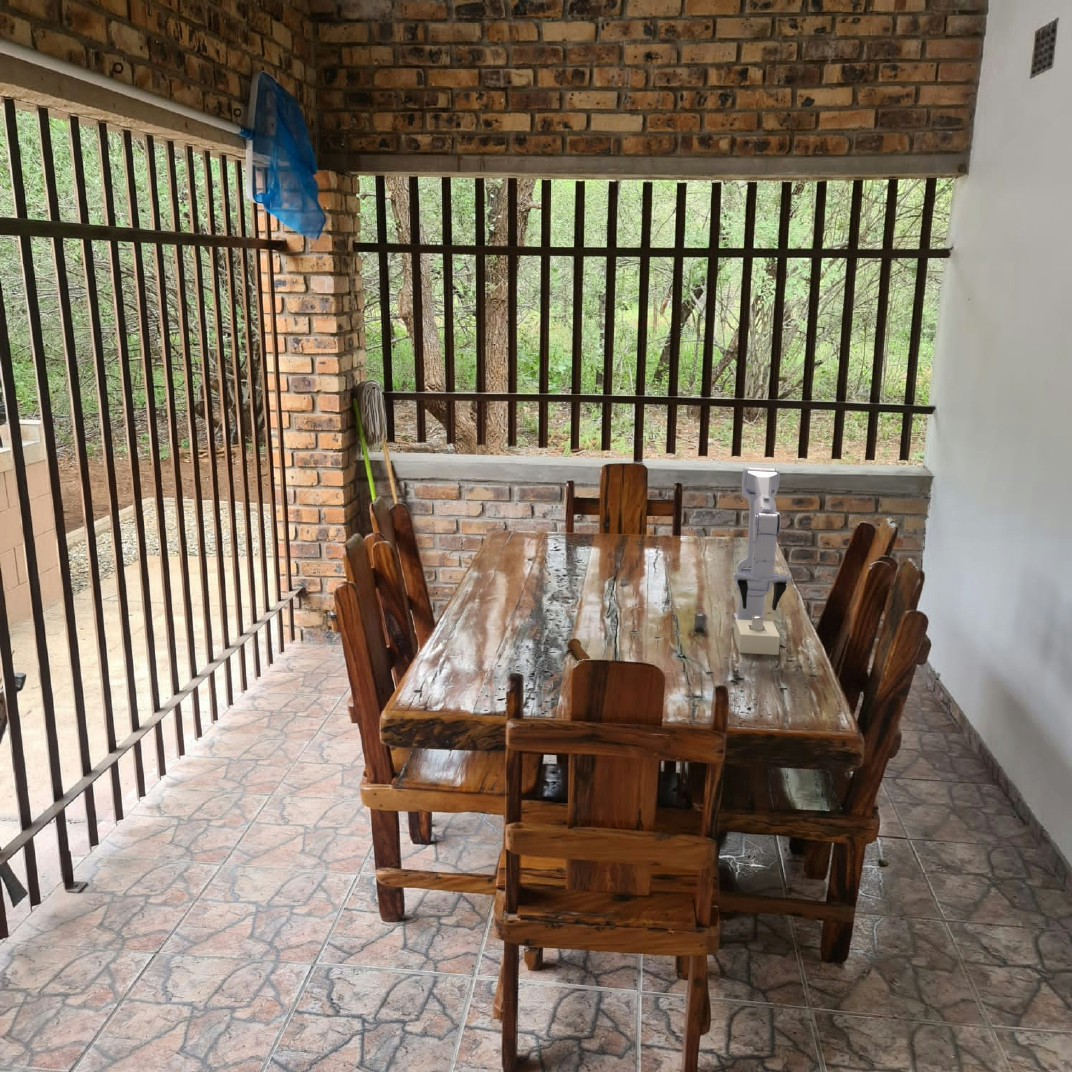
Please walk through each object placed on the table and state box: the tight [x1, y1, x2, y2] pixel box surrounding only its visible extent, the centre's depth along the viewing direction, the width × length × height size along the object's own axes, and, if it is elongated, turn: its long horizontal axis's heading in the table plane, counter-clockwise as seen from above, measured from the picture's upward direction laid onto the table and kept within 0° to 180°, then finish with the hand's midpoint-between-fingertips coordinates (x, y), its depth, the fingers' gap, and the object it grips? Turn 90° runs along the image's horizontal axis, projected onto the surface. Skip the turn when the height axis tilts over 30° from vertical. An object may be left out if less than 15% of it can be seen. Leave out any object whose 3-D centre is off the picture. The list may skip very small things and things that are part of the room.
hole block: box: [733, 618, 781, 656], centre depth 254 cm, size 12×10×5 cm
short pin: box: [693, 612, 707, 633], centre depth 265 cm, size 3×3×4 cm
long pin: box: [751, 615, 765, 631], centre depth 254 cm, size 3×3×8 cm
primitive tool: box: [567, 638, 591, 661], centre depth 239 cm, size 19×6×4 cm, turn 17°
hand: (759, 608), depth 252 cm, fingers open, 7 cm apart
